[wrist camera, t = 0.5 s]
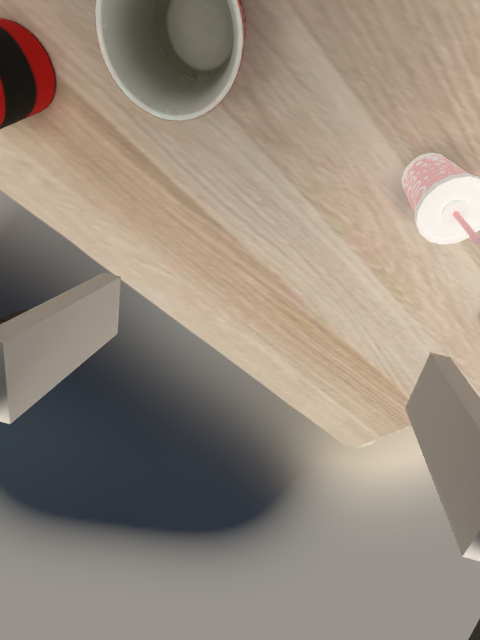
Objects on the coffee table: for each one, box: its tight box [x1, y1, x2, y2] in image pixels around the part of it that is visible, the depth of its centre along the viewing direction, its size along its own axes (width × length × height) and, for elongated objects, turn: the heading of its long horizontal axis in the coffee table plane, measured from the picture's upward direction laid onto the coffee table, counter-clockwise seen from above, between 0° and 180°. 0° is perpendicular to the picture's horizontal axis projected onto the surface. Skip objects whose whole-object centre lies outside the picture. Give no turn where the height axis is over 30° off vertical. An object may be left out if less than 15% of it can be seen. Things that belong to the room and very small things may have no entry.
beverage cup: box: [402, 153, 480, 244], centre depth 33 cm, size 6×6×14 cm
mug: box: [95, 0, 246, 121], centre depth 26 cm, size 13×9×14 cm
